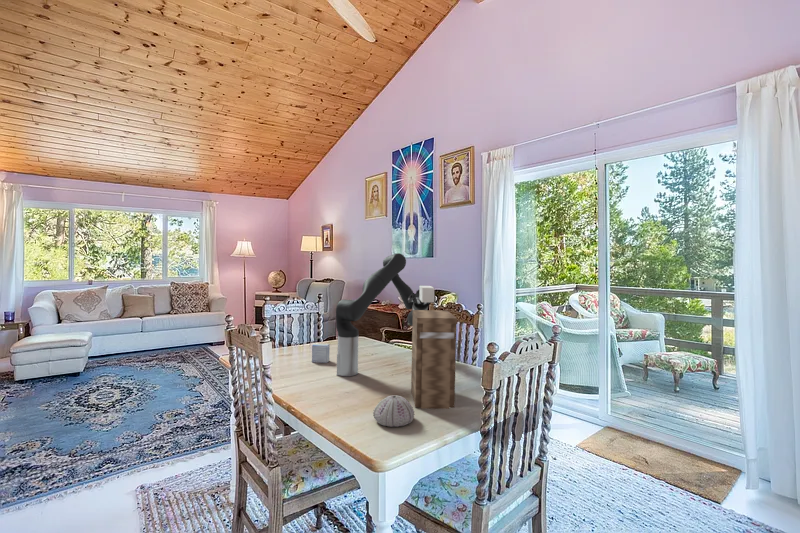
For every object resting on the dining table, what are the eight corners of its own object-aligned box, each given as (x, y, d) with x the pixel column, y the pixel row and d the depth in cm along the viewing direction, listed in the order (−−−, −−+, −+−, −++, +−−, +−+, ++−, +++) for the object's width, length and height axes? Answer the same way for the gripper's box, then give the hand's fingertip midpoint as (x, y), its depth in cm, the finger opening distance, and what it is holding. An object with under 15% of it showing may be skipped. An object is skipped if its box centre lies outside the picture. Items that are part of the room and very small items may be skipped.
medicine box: (329, 360, 199) (329, 343, 199) (327, 363, 194) (327, 345, 194) (314, 360, 200) (314, 343, 199) (311, 362, 195) (311, 345, 195)
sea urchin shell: (416, 430, 122) (417, 404, 122) (372, 430, 121) (373, 404, 121) (412, 412, 135) (412, 389, 135) (372, 413, 134) (373, 389, 134)
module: (422, 302, 164) (422, 287, 164) (417, 296, 185) (417, 284, 185) (434, 302, 164) (434, 288, 164) (428, 296, 185) (428, 284, 185)
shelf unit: (415, 409, 138) (417, 318, 137) (410, 389, 158) (412, 310, 157) (455, 409, 138) (457, 318, 138) (445, 389, 159) (447, 310, 158)
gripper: (405, 298, 196) (408, 283, 181) (434, 299, 197) (439, 284, 182) (406, 312, 193) (408, 298, 178) (435, 313, 194) (440, 299, 179)
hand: (424, 291), depth 180 cm, fingers closed on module, 4 cm apart
